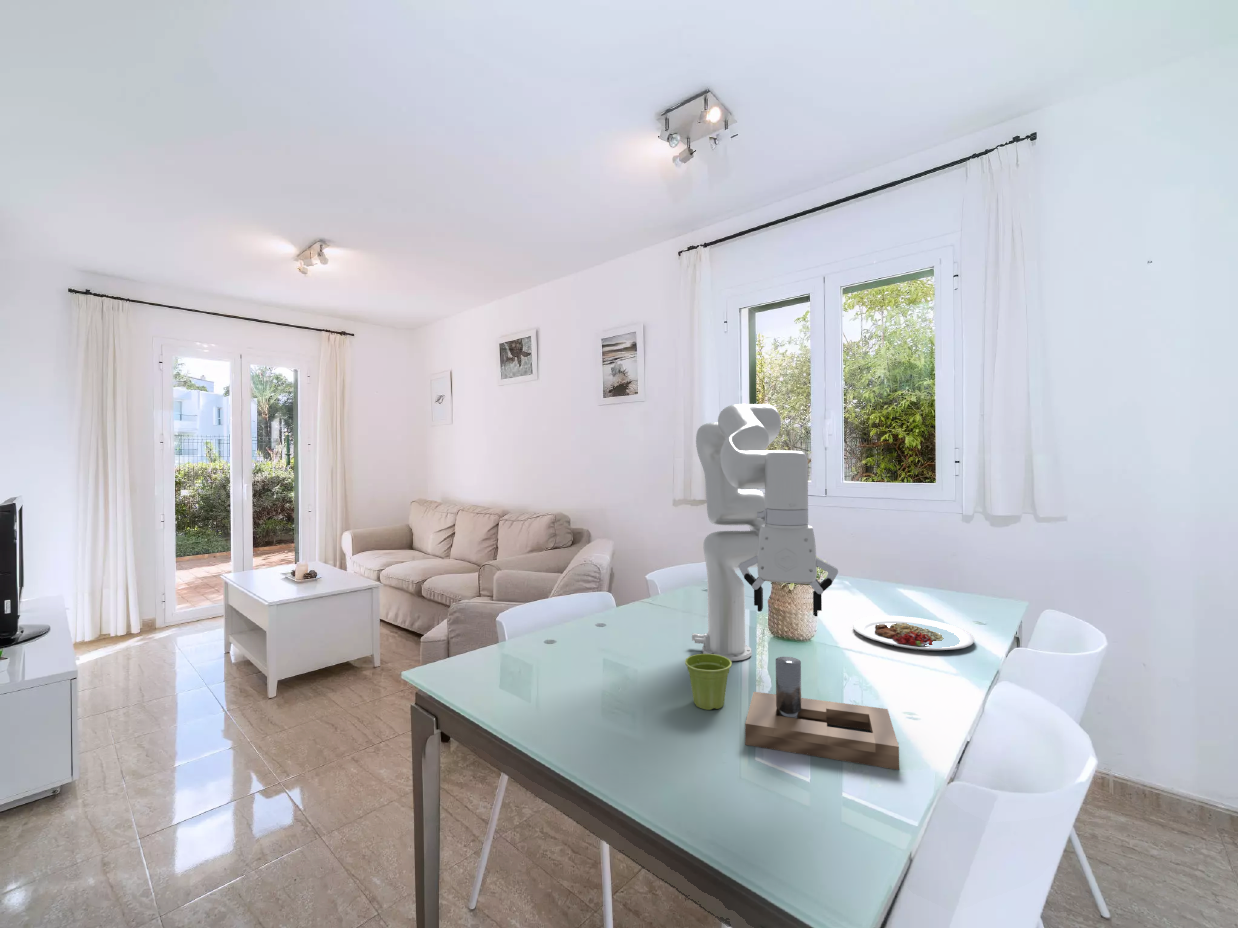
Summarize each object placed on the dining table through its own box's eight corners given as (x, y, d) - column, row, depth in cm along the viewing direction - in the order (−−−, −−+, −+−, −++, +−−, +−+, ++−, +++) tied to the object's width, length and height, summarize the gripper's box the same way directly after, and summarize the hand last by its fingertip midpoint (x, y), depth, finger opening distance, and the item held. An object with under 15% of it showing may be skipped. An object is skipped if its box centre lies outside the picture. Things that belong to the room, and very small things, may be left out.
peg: (771, 736, 96) (771, 664, 96) (774, 722, 101) (773, 653, 101) (805, 742, 94) (804, 668, 94) (805, 727, 99) (804, 657, 99)
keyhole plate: (745, 744, 93) (745, 723, 94) (753, 710, 107) (753, 691, 107) (899, 769, 85) (898, 746, 85) (887, 728, 98) (887, 708, 98)
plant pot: (722, 718, 103) (721, 673, 103) (677, 707, 108) (677, 664, 108) (738, 700, 111) (738, 658, 111) (696, 690, 116) (696, 650, 116)
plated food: (929, 620, 167) (929, 609, 167) (1002, 654, 137) (1002, 641, 137) (835, 622, 166) (834, 611, 166) (887, 657, 136) (887, 643, 136)
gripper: (735, 519, 97) (736, 613, 97) (838, 522, 91) (839, 622, 91) (740, 515, 104) (741, 603, 104) (836, 517, 98) (837, 610, 99)
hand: (787, 611), depth 98 cm, fingers open, 9 cm apart
